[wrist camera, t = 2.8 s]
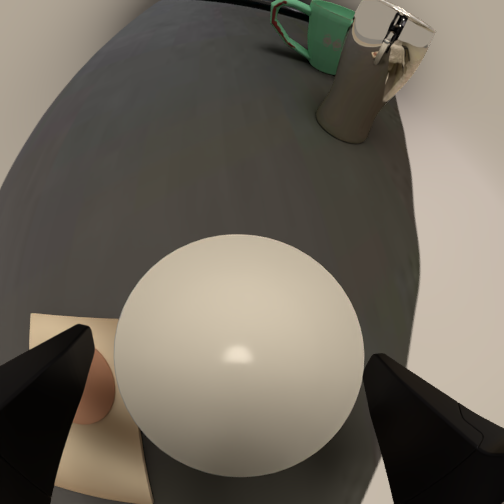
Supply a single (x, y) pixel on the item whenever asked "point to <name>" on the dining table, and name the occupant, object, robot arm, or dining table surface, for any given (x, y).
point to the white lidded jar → (238, 355)
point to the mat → (99, 422)
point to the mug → (317, 31)
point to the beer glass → (372, 67)
